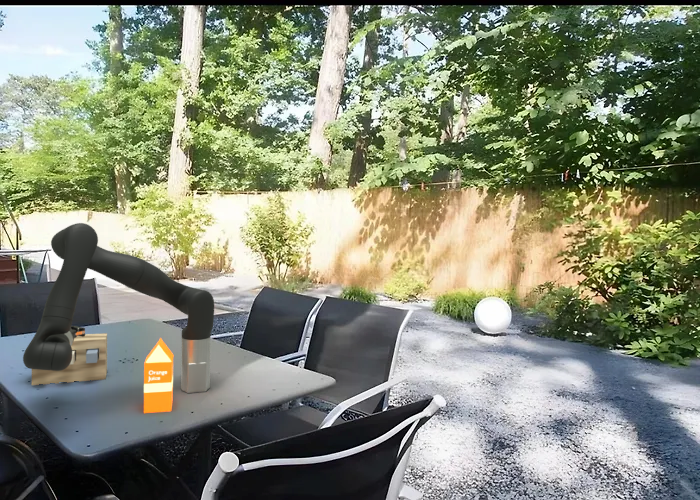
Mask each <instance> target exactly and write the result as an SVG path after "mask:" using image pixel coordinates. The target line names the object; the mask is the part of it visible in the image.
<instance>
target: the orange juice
mask: <svg viewBox="0 0 700 500" xmlns="http://www.w3.org/2000/svg"><path fill="white" fill-rule="evenodd" d="M174 357H175V356H174V353H173V352H172V351H171V349H170V348H169V347H168V346H167V343H165V342H164V341H163V339H162V337H159V340H158V341H157V342H156V344H155V345H154V346H153V348H152V349H151V350H150V352H149V353H148V355H146V358H145V360H144V363H143V368H144V369H143V414H150V413H151V414H152V413H165V412H172V409H173V408H172V407H173V401H174V400H173V398H174V394H173V393H174V391H173V390H174V367H175V366H174Z"/></svg>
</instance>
